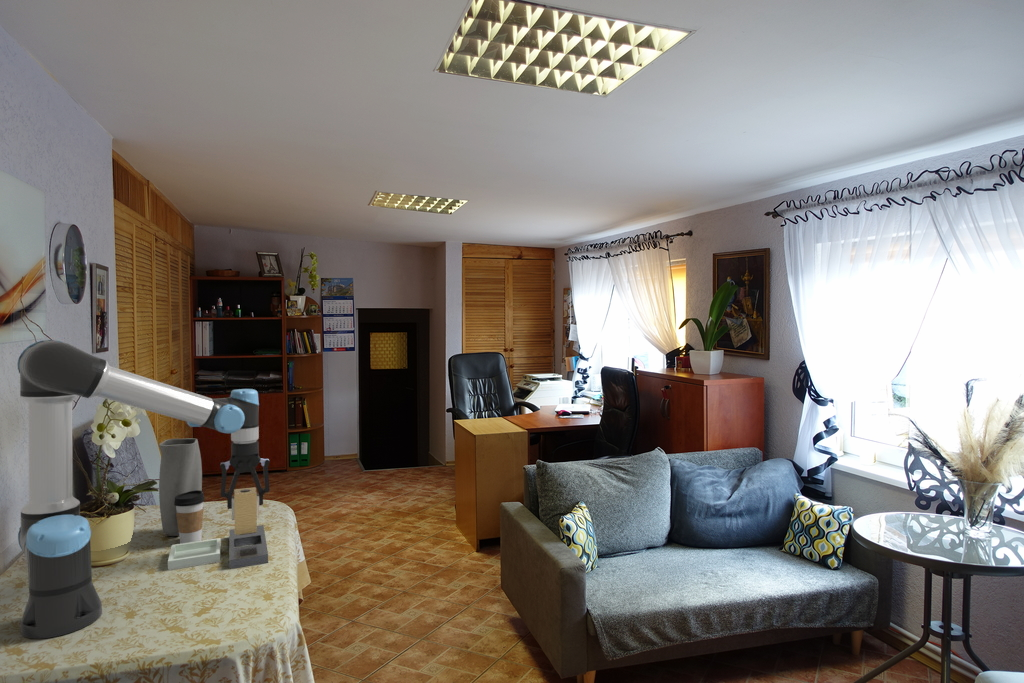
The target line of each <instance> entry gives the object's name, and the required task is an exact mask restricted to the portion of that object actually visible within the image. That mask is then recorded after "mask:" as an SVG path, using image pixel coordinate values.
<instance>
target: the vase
mask: <svg viewBox="0 0 1024 683" xmlns="http://www.w3.org/2000/svg"><path fill="white" fill-rule="evenodd" d="M158 446H159V450H160V453H161V456H160V466H159V476H158V477H159V478H158V479H159V480H158V484H159V485H158V492H159V493H158V494H159V496H158V499H159V510H160V520H161V527H162V531H163V533H164V534H165V535H166V536H169V537H177V536H178V537H179V530H178V523H177V516H176V506H175V505H174V501H175V497H176V496H177V495H179V494H182V493H186V492H190V491H195V490H200V491H203V490H202V489H203V488H202V487H203V486H202V485H203V468H202V467H203V466H202V457H201V455H202V454H201V450H200V445H199V441H198V438H193V437H192V438H191V437H190V438H169V439H166V440H164V441H163V442H161V443H159V444H158Z"/></svg>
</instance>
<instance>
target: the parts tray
mask: <svg viewBox="0 0 1024 683" xmlns="http://www.w3.org/2000/svg"><path fill="white" fill-rule="evenodd" d="M221 541H222V540H221V537H216V538H210V539H203V540H201V541H196V542H189V543H182V544H181V543H176V544H172V545H171V546H170V547H171V548H170V551H169V554H168V560H167V570H168V571H172V570H179V569H183V568H191V567H196V566H204V565H209V564H215V562H216V563H220V562H221V544H222V543H221Z"/></svg>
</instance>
